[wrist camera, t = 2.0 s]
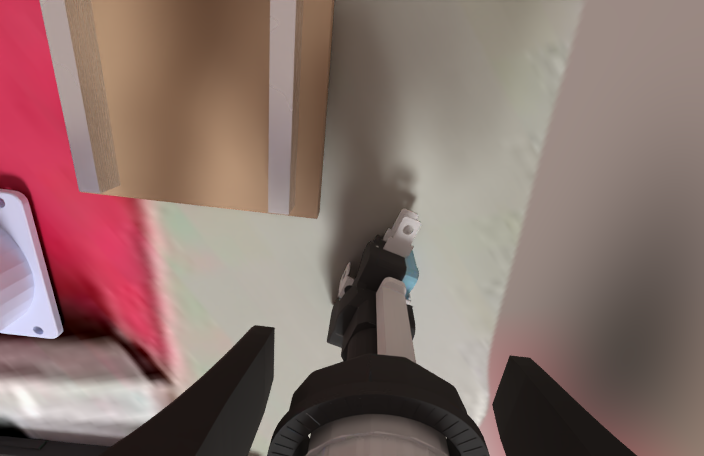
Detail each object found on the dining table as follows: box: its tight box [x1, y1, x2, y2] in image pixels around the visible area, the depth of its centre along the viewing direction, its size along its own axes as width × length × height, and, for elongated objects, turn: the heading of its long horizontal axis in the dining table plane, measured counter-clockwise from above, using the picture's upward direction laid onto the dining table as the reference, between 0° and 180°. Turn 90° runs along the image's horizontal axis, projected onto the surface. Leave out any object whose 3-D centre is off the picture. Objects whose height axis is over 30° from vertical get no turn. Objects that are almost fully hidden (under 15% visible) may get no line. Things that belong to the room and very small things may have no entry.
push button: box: [267, 208, 490, 456], centre depth 12 cm, size 7×5×10 cm
